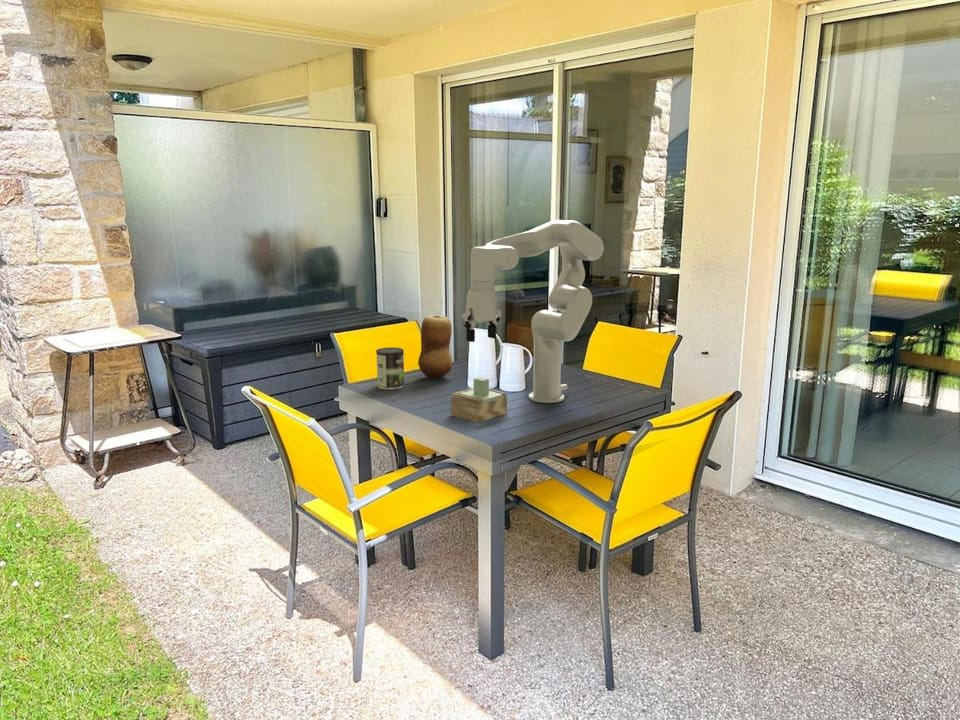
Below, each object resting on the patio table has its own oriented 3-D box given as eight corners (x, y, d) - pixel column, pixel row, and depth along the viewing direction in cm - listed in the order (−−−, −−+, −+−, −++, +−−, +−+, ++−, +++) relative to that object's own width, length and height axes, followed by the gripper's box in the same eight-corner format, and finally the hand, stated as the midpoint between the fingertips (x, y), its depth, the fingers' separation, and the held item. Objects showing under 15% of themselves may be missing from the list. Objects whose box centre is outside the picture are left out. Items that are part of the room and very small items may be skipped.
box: (481, 406, 242) (481, 385, 240) (506, 413, 234) (507, 392, 232) (451, 414, 232) (450, 393, 230) (477, 422, 224) (477, 401, 222)
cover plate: (478, 391, 238) (478, 373, 236) (502, 397, 230) (503, 379, 229) (459, 396, 231) (459, 378, 230) (483, 403, 224) (483, 384, 222)
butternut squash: (451, 382, 273) (451, 318, 267) (417, 382, 273) (415, 318, 267) (453, 373, 286) (452, 312, 281) (420, 374, 286) (418, 313, 281)
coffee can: (408, 383, 271) (407, 347, 268) (398, 390, 262) (397, 353, 258) (383, 382, 274) (382, 346, 271) (372, 388, 264) (371, 351, 261)
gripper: (492, 283, 231) (491, 335, 235) (454, 286, 219) (453, 341, 223) (509, 285, 226) (508, 338, 230) (471, 289, 214) (470, 344, 218)
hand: (481, 339), depth 226 cm, fingers open, 9 cm apart
